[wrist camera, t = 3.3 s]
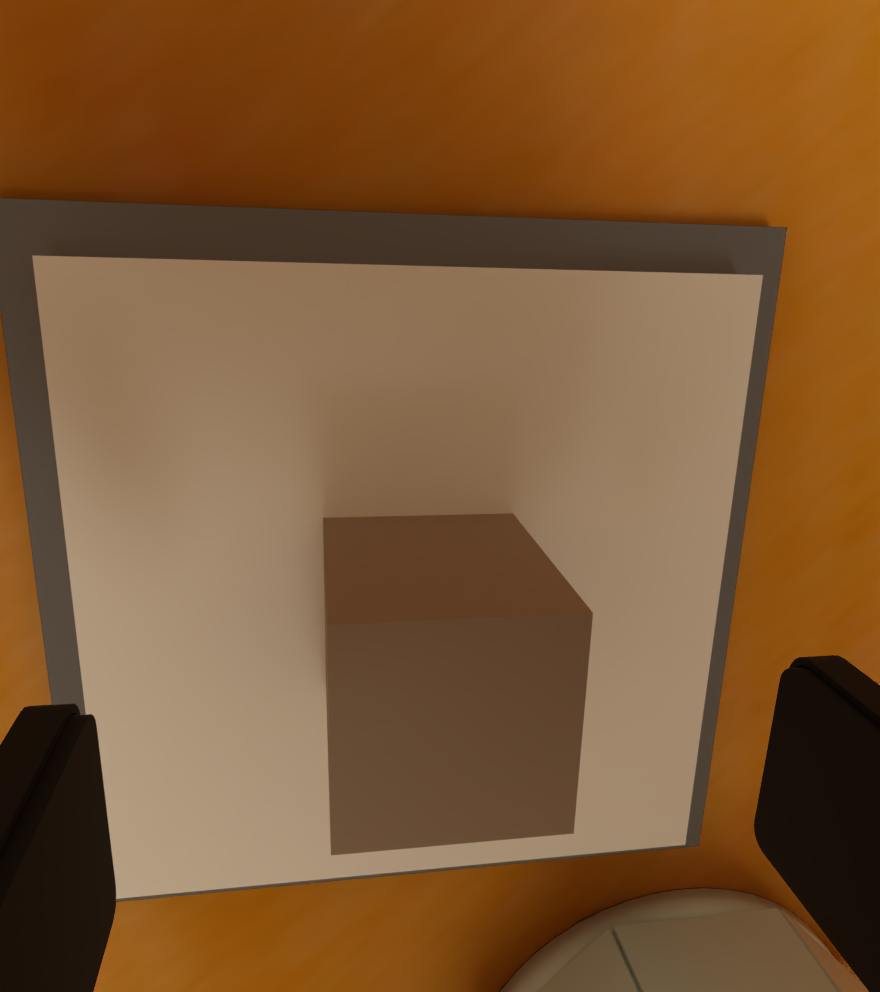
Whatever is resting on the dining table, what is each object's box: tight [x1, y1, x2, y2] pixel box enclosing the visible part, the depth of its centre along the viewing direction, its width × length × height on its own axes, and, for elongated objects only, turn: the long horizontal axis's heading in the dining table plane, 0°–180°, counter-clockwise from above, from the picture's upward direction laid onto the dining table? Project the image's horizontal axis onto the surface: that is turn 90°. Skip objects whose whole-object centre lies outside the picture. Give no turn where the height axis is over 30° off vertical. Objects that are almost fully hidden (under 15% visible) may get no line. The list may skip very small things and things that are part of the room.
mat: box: [0, 198, 787, 902], centre depth 18 cm, size 16×16×1 cm
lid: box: [32, 255, 763, 899], centre depth 15 cm, size 14×14×6 cm
